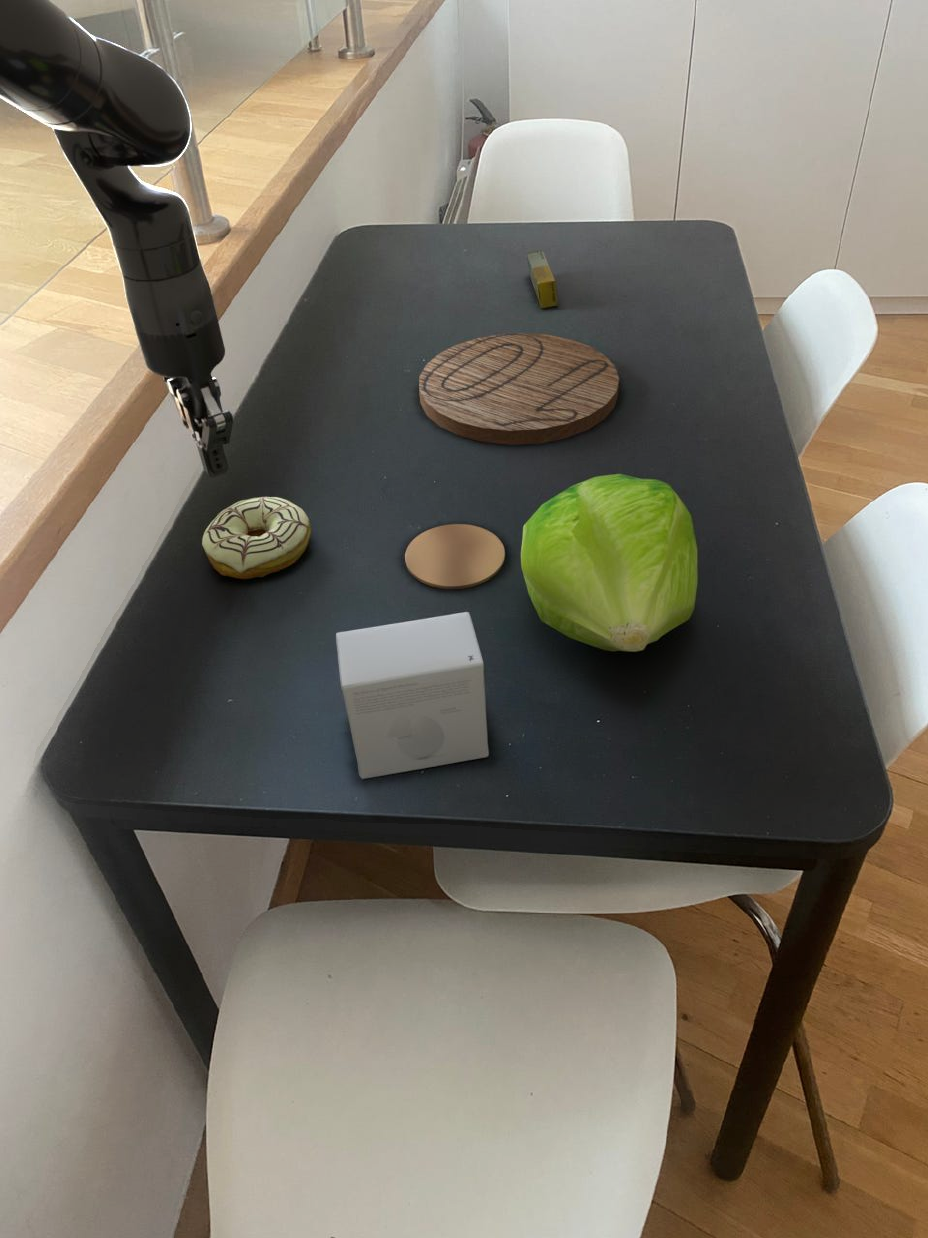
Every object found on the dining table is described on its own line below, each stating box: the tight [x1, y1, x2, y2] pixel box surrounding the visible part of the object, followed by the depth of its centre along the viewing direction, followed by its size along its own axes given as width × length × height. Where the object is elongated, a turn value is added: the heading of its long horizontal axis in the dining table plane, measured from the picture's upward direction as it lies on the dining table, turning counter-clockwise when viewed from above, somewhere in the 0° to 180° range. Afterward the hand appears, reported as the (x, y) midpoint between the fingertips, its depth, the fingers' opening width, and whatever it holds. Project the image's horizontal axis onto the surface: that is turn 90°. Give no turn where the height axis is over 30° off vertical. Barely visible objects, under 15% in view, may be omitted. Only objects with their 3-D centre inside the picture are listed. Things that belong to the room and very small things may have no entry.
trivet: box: [418, 332, 620, 446], centre depth 116 cm, size 25×25×2 cm
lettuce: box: [520, 473, 699, 653], centre depth 79 cm, size 15×20×14 cm
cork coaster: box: [404, 523, 506, 590], centre depth 92 cm, size 10×10×1 cm
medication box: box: [526, 250, 559, 309], centre depth 136 cm, size 12×3×4 cm, turn 5°
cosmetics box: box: [335, 611, 490, 780], centre depth 71 cm, size 10×6×10 cm, turn 100°
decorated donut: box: [201, 496, 312, 580], centre depth 93 cm, size 10×11×4 cm
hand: (216, 471), depth 97 cm, fingers closed
